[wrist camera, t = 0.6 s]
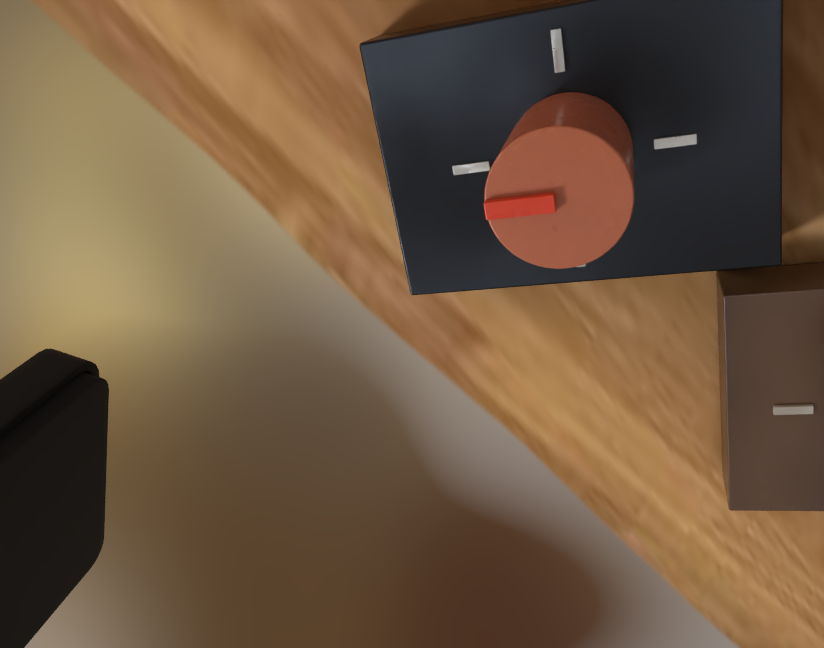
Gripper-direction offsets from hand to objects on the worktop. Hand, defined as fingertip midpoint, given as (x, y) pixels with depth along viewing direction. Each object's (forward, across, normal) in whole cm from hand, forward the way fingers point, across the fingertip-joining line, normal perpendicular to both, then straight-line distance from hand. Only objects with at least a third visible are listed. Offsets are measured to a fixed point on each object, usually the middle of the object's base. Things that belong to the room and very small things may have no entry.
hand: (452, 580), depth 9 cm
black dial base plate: (+24, 0, 0) cm, 24 cm away
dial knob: (+21, 0, 0) cm, 21 cm away
